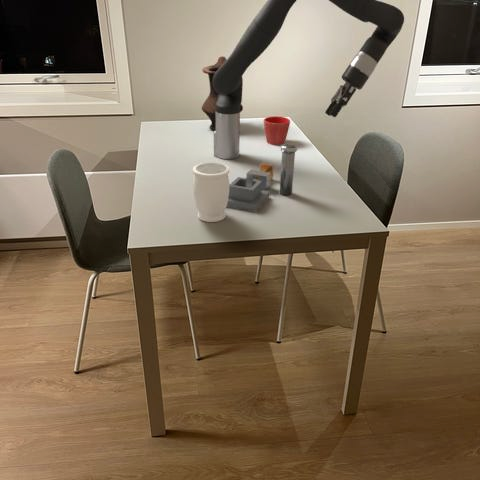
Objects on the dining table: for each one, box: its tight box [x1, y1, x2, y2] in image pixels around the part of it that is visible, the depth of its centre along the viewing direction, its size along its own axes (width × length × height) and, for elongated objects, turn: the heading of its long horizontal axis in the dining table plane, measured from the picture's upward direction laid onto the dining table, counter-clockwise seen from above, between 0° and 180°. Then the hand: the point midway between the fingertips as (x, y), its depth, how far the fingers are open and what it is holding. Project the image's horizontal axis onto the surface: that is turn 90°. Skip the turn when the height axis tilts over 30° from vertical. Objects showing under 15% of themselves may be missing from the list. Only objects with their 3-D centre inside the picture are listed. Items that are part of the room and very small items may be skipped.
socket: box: [226, 176, 270, 213], centre depth 150 cm, size 12×12×6 cm
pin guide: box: [245, 169, 271, 191], centre depth 160 cm, size 7×4×5 cm, turn 68°
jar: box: [192, 161, 230, 223], centre depth 138 cm, size 11×10×15 cm
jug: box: [201, 56, 244, 132], centre depth 214 cm, size 21×18×30 cm
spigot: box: [279, 143, 298, 197], centre depth 153 cm, size 5×5×16 cm
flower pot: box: [263, 115, 291, 146], centre depth 202 cm, size 11×11×10 cm
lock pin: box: [253, 162, 275, 181], centre depth 162 cm, size 12×4×5 cm, turn 158°
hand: (329, 115), depth 156 cm, fingers open, 8 cm apart
